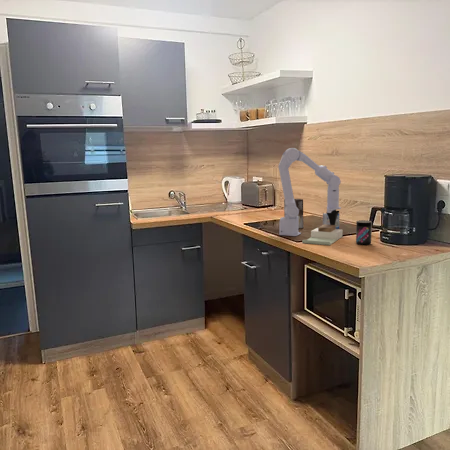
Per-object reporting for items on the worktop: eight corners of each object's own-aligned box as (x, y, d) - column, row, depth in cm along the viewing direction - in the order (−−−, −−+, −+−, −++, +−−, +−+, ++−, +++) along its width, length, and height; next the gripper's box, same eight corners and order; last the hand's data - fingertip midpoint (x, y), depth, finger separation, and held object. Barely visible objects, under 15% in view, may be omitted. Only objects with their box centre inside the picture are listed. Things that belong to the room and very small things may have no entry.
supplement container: (352, 243, 193) (353, 220, 191) (365, 241, 195) (366, 219, 193) (361, 246, 187) (362, 223, 185) (374, 244, 189) (375, 222, 187)
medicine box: (325, 229, 226) (326, 214, 225) (322, 228, 231) (322, 213, 229) (339, 229, 228) (339, 213, 226) (335, 227, 232) (336, 212, 231)
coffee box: (298, 226, 240) (298, 198, 237) (303, 227, 234) (303, 199, 231) (283, 227, 238) (283, 199, 235) (288, 229, 232) (288, 200, 229)
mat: (302, 243, 196) (302, 239, 196) (310, 238, 207) (310, 235, 206) (329, 245, 190) (329, 242, 189) (337, 240, 200) (337, 237, 200)
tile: (318, 231, 205) (318, 227, 205) (323, 228, 213) (323, 224, 212) (330, 232, 202) (330, 228, 202) (335, 229, 210) (335, 225, 209)
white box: (311, 238, 207) (311, 231, 206) (317, 234, 215) (317, 227, 214) (337, 240, 200) (337, 232, 200) (342, 236, 208) (342, 229, 208)
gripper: (337, 200, 205) (336, 227, 207) (344, 197, 217) (344, 223, 220) (322, 200, 208) (322, 226, 211) (331, 196, 221) (330, 222, 223)
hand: (332, 224), depth 215 cm, fingers closed
